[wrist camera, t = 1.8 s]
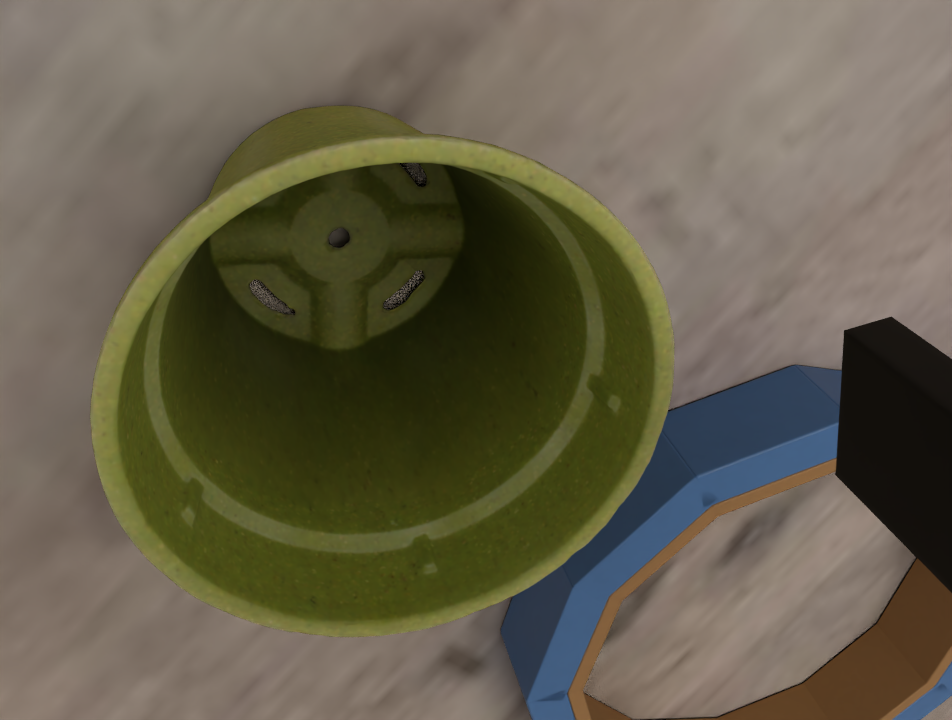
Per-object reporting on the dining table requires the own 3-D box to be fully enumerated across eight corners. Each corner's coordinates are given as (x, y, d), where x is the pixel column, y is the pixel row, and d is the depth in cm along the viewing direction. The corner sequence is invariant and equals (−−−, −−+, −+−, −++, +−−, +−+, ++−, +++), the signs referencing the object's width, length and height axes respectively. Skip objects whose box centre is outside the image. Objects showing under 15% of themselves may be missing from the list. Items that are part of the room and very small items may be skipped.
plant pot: (321, -79, 18) (395, -15, 11) (598, 208, 23) (774, 382, 16) (42, 247, 20) (-48, 482, 13) (353, 450, 25) (411, 704, 18)
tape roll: (815, 263, 26) (880, 311, 23) (1037, 527, 35) (1101, 581, 32) (401, 649, 30) (419, 725, 27) (699, 797, 39) (733, 865, 36)
